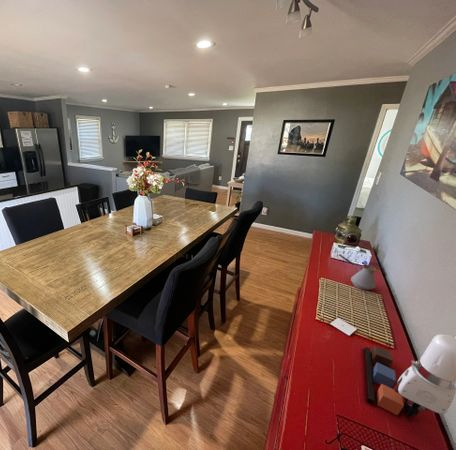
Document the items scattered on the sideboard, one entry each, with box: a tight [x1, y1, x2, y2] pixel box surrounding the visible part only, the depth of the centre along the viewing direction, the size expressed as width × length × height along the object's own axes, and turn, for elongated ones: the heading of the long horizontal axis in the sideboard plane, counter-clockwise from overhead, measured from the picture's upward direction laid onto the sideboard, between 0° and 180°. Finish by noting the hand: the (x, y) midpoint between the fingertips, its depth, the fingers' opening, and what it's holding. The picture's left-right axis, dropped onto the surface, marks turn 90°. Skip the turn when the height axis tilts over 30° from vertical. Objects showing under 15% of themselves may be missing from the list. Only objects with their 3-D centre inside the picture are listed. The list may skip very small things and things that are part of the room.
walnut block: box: [370, 345, 394, 369], centre depth 94 cm, size 5×5×5 cm
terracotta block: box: [375, 384, 404, 416], centre depth 79 cm, size 5×5×5 cm
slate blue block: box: [372, 362, 397, 389], centre depth 87 cm, size 5×5×5 cm
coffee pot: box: [337, 253, 378, 291], centre depth 142 cm, size 21×12×15 cm, turn 42°
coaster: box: [329, 317, 358, 336], centre depth 111 cm, size 8×8×1 cm
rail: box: [363, 346, 375, 406], centre depth 89 cm, size 2×26×2 cm, turn 143°
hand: (408, 412), depth 77 cm, fingers closed
